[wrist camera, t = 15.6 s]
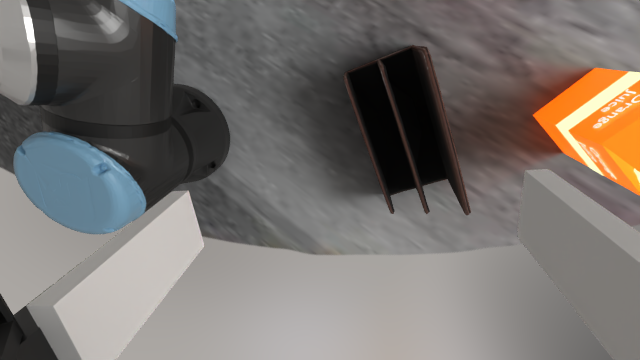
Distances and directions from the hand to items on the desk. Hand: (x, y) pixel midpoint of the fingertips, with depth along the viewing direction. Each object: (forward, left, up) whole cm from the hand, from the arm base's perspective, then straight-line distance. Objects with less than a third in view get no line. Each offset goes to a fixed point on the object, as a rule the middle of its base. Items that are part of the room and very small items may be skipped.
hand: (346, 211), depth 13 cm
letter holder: (+5, -6, -37) cm, 38 cm away
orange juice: (+29, -6, -37) cm, 47 cm away
